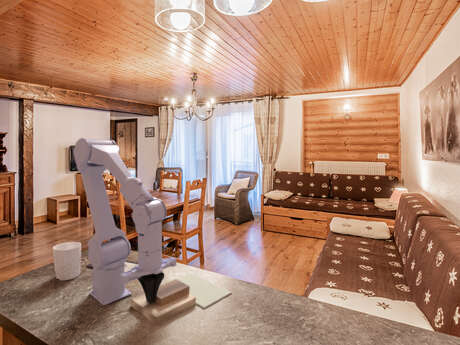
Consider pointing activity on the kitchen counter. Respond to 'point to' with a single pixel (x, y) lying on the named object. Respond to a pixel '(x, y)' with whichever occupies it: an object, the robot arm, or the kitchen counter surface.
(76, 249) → the white cup
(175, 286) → the walnut tile
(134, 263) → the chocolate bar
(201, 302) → the sage mat
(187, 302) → the block
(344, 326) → the kitchen counter surface
